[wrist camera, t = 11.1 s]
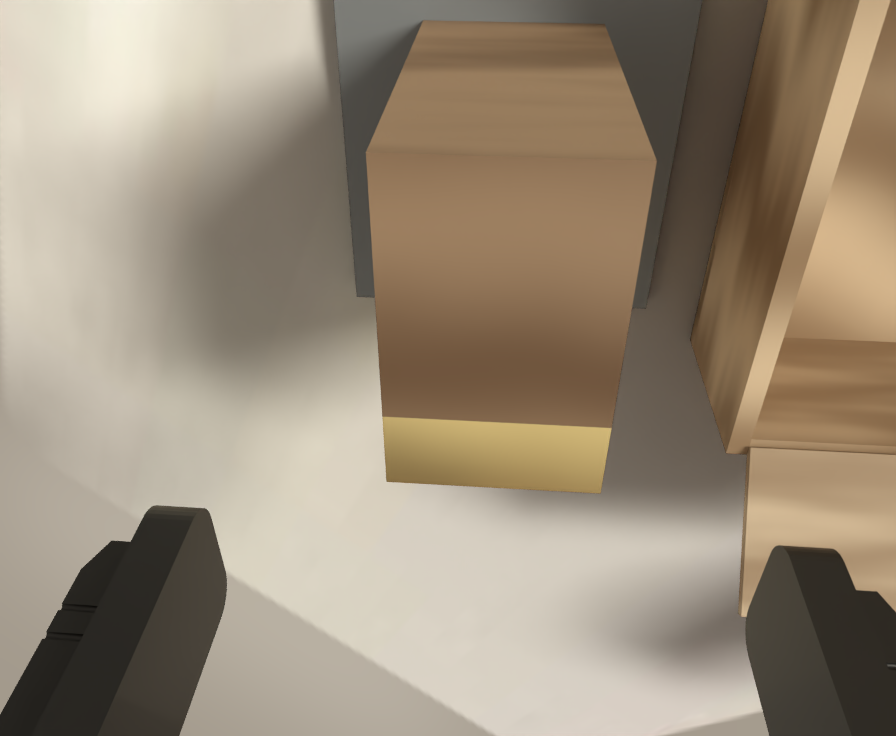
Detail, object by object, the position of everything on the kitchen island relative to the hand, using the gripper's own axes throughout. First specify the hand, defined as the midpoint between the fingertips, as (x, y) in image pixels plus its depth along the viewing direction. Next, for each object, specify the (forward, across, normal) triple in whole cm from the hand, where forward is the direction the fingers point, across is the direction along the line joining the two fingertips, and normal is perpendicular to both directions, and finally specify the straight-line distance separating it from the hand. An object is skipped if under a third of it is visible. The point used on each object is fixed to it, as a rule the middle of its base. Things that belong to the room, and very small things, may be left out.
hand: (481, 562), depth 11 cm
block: (+15, 0, 0) cm, 16 cm away
